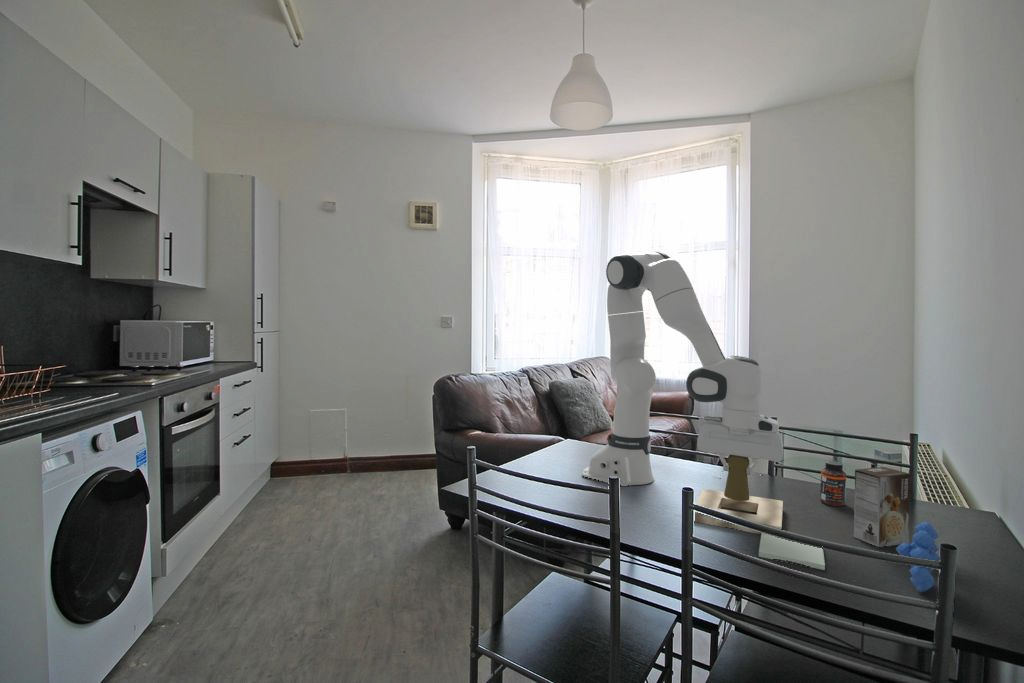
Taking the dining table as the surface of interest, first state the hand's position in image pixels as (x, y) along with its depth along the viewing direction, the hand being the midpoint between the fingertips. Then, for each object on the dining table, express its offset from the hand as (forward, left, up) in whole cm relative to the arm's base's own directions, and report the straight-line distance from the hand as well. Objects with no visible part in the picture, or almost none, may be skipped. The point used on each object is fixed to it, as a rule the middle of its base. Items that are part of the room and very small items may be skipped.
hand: (737, 472), depth 130 cm
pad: (+12, -17, -11) cm, 24 cm away
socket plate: (0, 0, -11) cm, 11 cm away
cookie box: (+30, 0, -11) cm, 32 cm away
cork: (0, 0, -7) cm, 7 cm away
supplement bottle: (+22, +23, -11) cm, 34 cm away
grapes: (+33, -21, -11) cm, 41 cm away
